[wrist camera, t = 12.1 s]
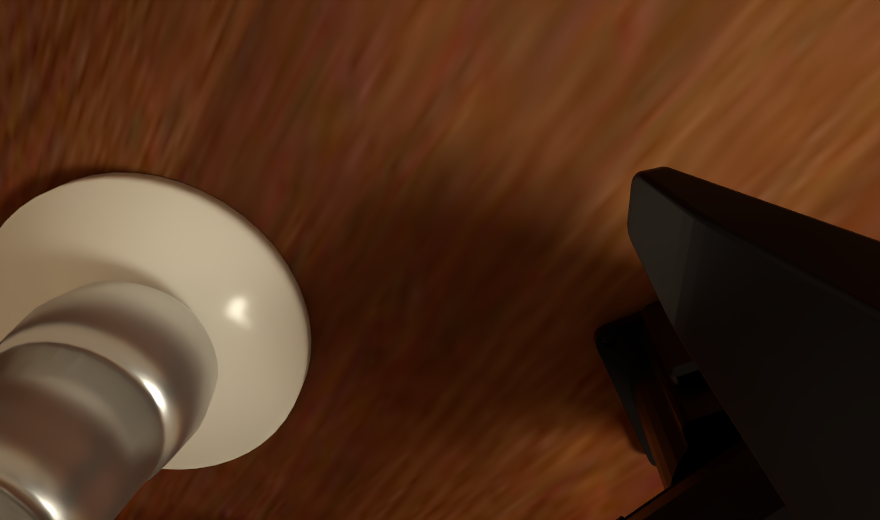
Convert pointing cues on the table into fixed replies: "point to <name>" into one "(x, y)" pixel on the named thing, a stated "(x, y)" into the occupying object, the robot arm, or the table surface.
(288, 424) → the table surface
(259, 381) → the saucer
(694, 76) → the table surface
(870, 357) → the robot arm
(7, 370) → the plastic bottle
